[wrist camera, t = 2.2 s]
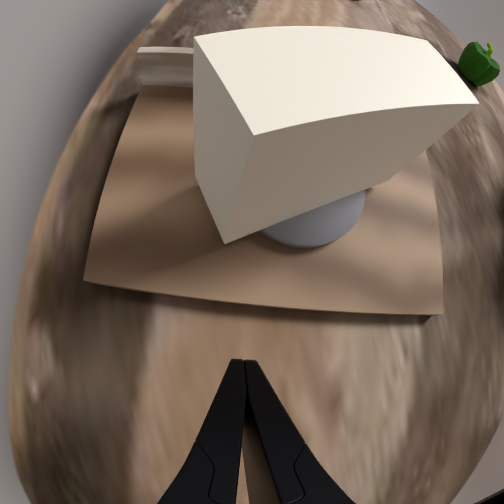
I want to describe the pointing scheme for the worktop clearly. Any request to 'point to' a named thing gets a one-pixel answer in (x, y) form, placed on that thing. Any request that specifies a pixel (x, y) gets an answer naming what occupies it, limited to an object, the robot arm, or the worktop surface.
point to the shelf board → (256, 244)
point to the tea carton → (312, 124)
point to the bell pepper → (478, 64)
